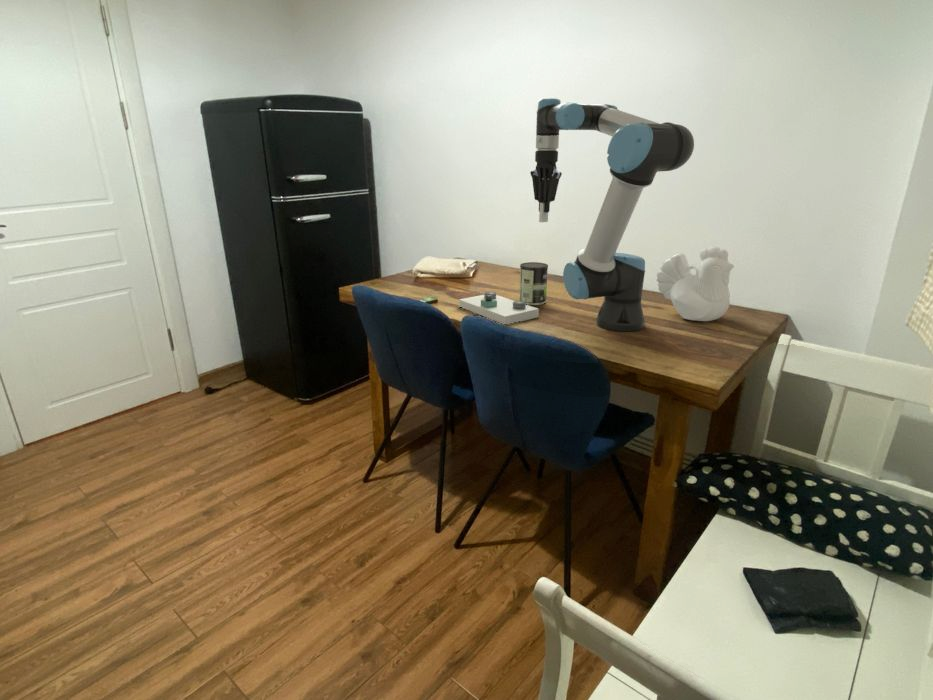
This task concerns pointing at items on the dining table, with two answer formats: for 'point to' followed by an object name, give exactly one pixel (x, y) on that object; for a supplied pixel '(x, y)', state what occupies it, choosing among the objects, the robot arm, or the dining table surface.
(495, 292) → the knob far
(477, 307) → the panel
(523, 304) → the knob near
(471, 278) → the dining table surface
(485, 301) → the knob
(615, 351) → the dining table surface
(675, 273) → the decorative rooster
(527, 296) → the coffee can
